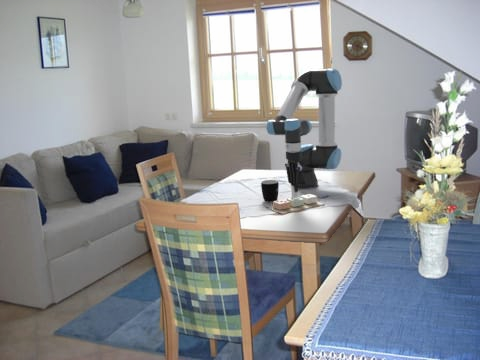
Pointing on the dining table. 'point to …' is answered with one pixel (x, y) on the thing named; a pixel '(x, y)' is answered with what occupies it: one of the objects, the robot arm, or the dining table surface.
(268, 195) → the mug
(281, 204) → the pink square block
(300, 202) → the tile
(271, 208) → the board
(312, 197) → the tile
